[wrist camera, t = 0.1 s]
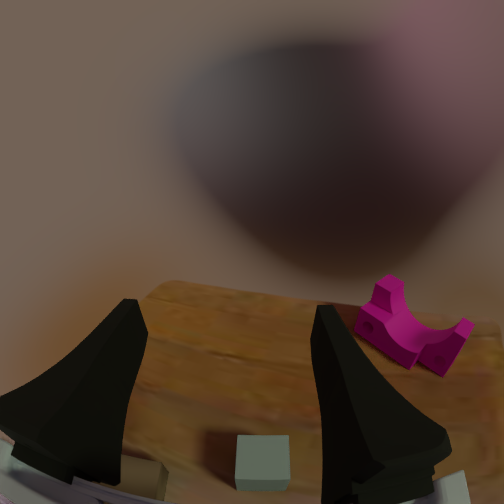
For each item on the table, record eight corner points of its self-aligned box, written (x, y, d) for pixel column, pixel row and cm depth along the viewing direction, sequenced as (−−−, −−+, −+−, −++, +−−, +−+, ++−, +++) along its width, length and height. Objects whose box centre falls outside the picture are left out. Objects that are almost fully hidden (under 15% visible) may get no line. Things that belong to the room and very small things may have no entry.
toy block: (353, 331, 41) (365, 289, 37) (377, 313, 44) (389, 273, 40) (434, 389, 30) (459, 350, 26) (452, 363, 33) (474, 324, 29)
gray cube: (285, 490, 21) (290, 479, 19) (237, 490, 21) (234, 478, 19) (284, 452, 25) (288, 435, 23) (239, 452, 25) (237, 434, 23)
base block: (155, 556, 14) (145, 555, 12) (61, 524, 14) (45, 517, 13) (168, 471, 23) (161, 462, 21) (82, 450, 23) (70, 439, 21)
